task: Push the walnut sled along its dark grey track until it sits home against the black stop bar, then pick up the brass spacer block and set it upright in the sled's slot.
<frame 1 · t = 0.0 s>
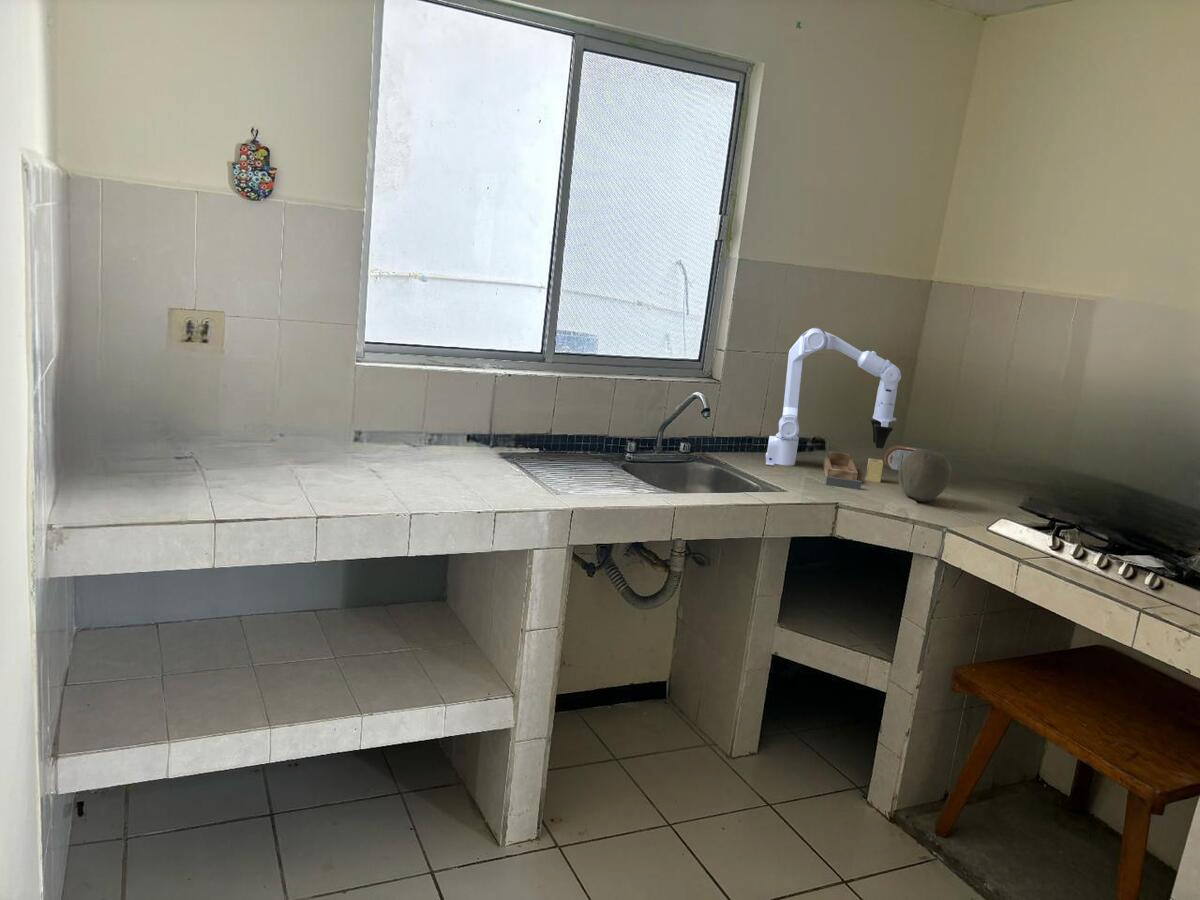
hand: (878, 445, 292), 10 cm above the countertop, tool pointing down, fingers open, 7 cm apart
tin: (906, 473, 306), on the countertop
track: (839, 478, 287), on the countertop
cantaloupe: (919, 500, 271), on the countertop
spacer: (872, 482, 287), on the countertop
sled: (840, 466, 290), point 3 cm above the countertop, slide at 5.0 cm
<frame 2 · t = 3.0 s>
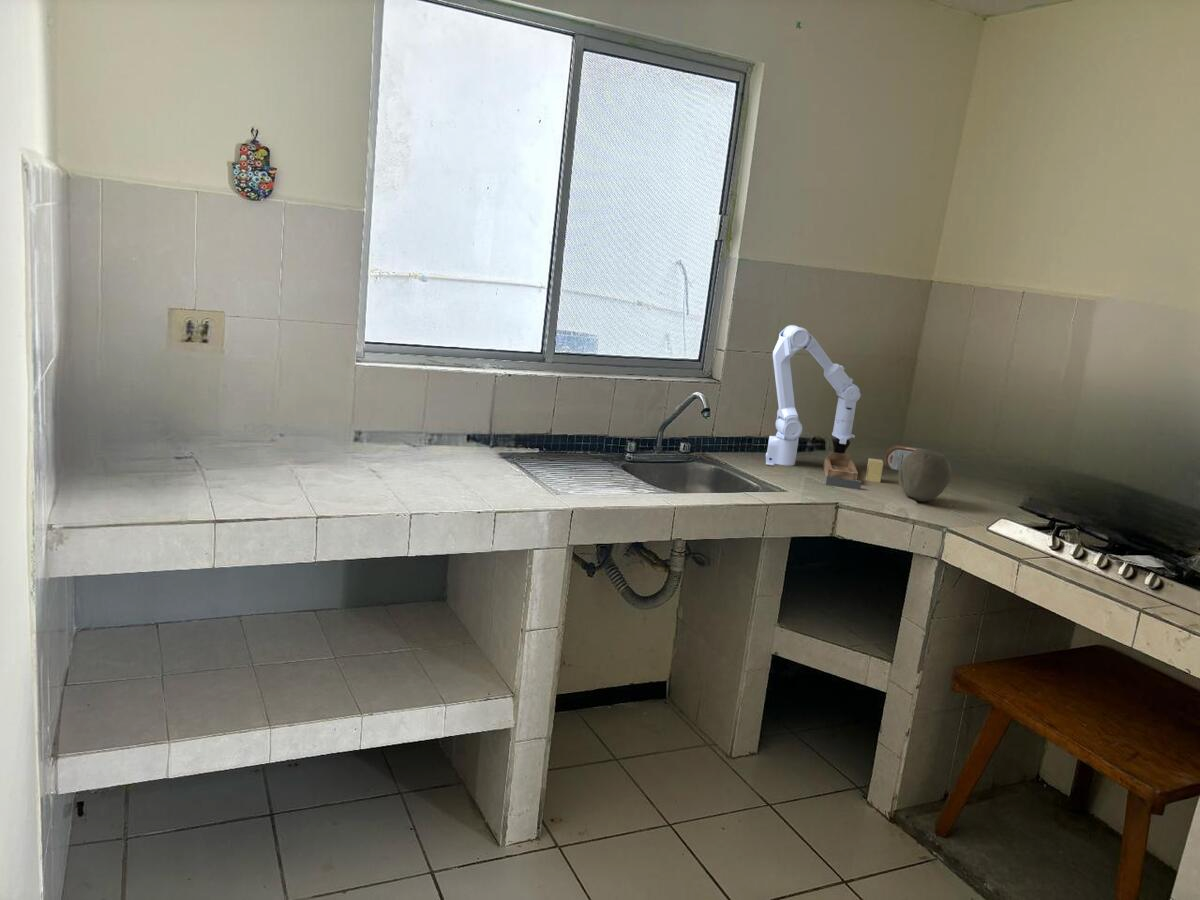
hand: (837, 461, 300), 2 cm above the countertop, tool pointing down, fingers closed
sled: (840, 467, 289), point 3 cm above the countertop, slide at 4.2 cm, touching gripper
everything else where it was.
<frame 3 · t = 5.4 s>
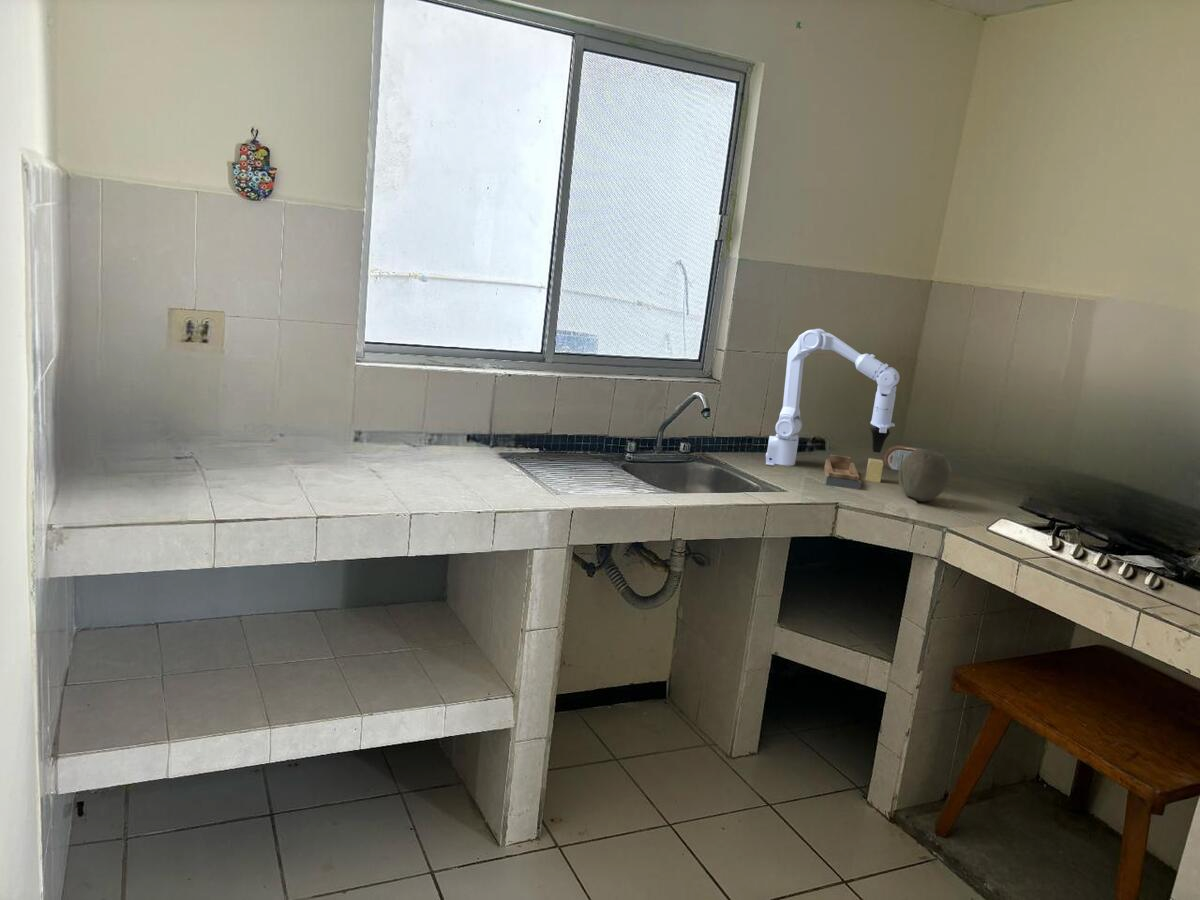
hand: (876, 451, 285), 10 cm above the countertop, tool pointing down, fingers closed
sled: (841, 470, 285), point 3 cm above the countertop, slide at 0.0 cm
everything else where it was.
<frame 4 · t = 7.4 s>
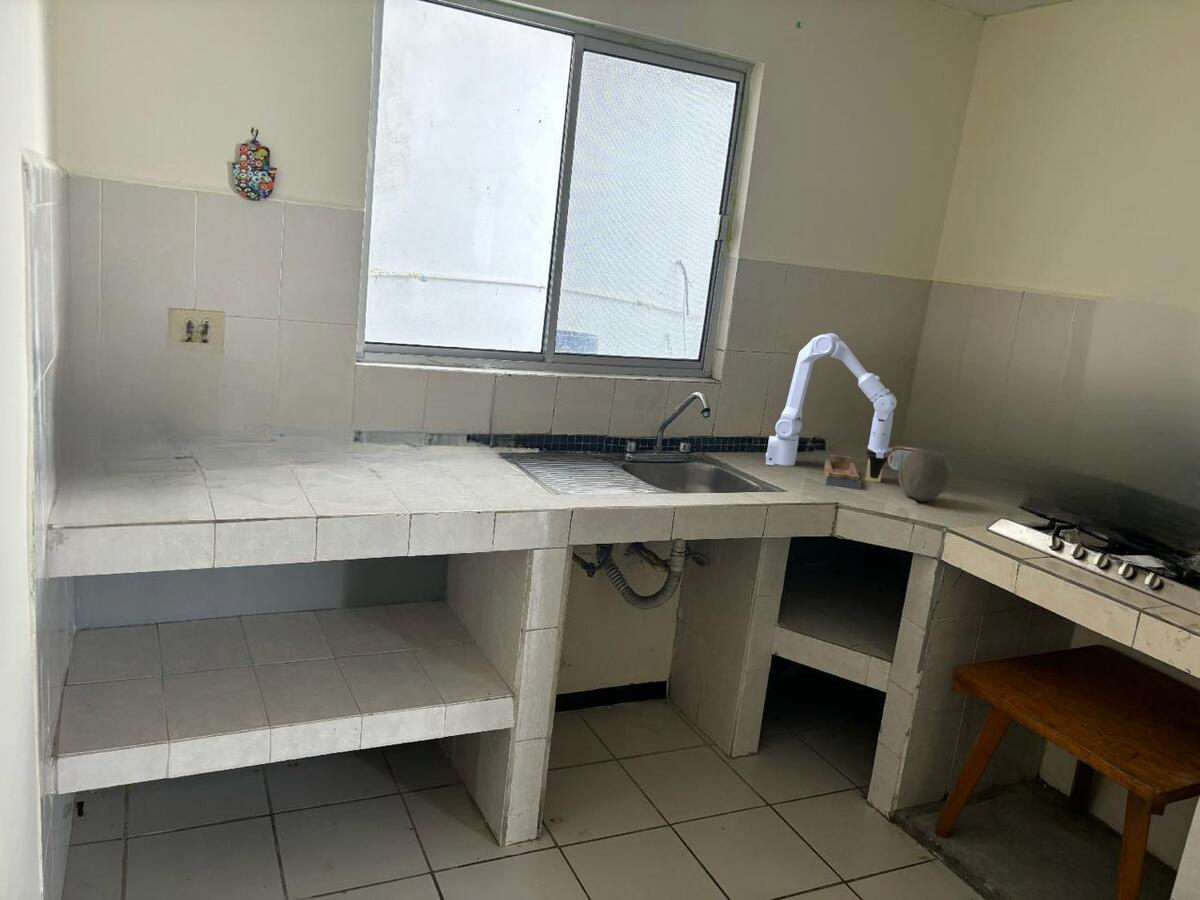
hand: (873, 476, 286), 2 cm above the countertop, tool pointing down, fingers closed on spacer, 4 cm apart
spacer: (872, 482, 287), on the countertop, touching gripper
everything else where it was.
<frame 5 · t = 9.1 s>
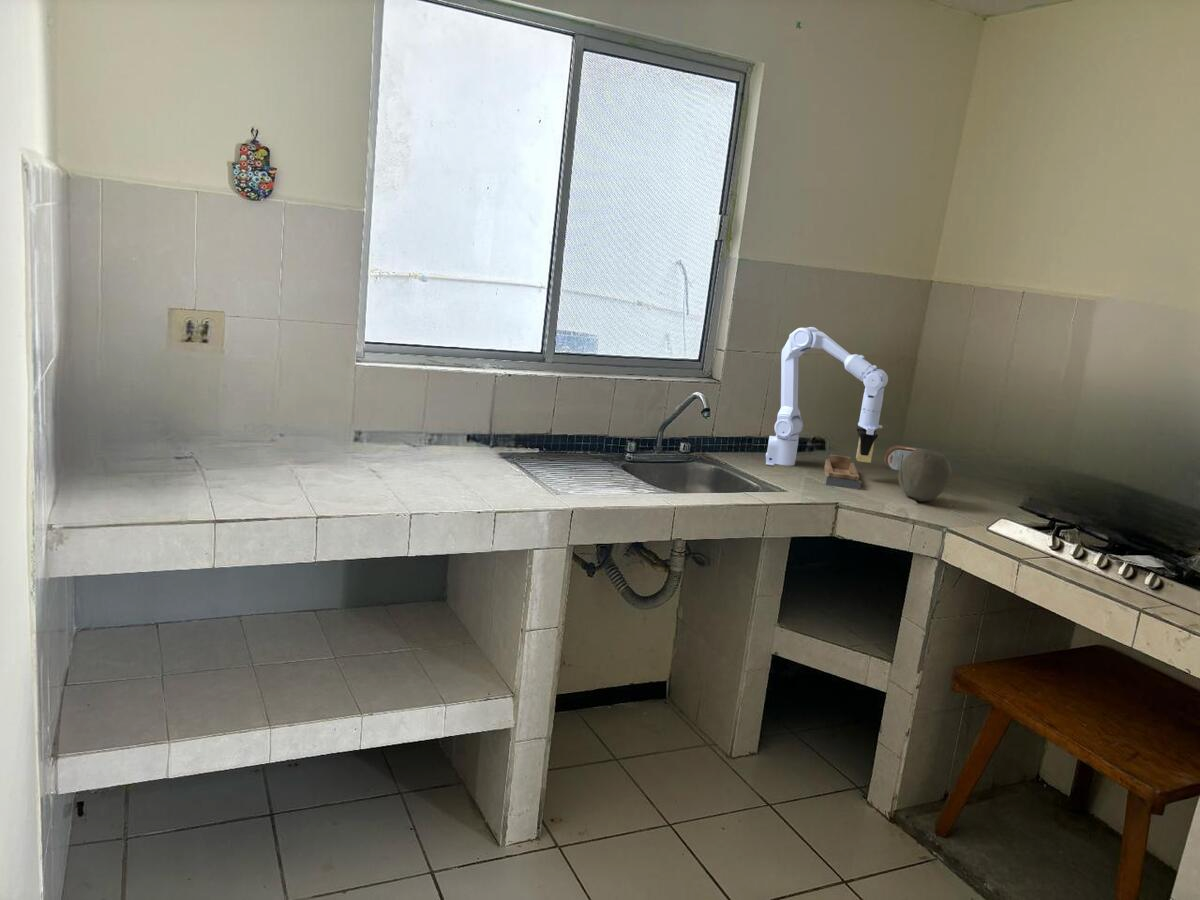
hand: (863, 453, 284), 9 cm above the countertop, tool pointing down, fingers closed on spacer, 4 cm apart
spacer: (863, 460, 285), point 7 cm above the countertop, touching gripper
everything else where it was.
when the fingers open (5 cm above the countertop, at t = 10.7 s): spacer stays where it is, resting on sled.
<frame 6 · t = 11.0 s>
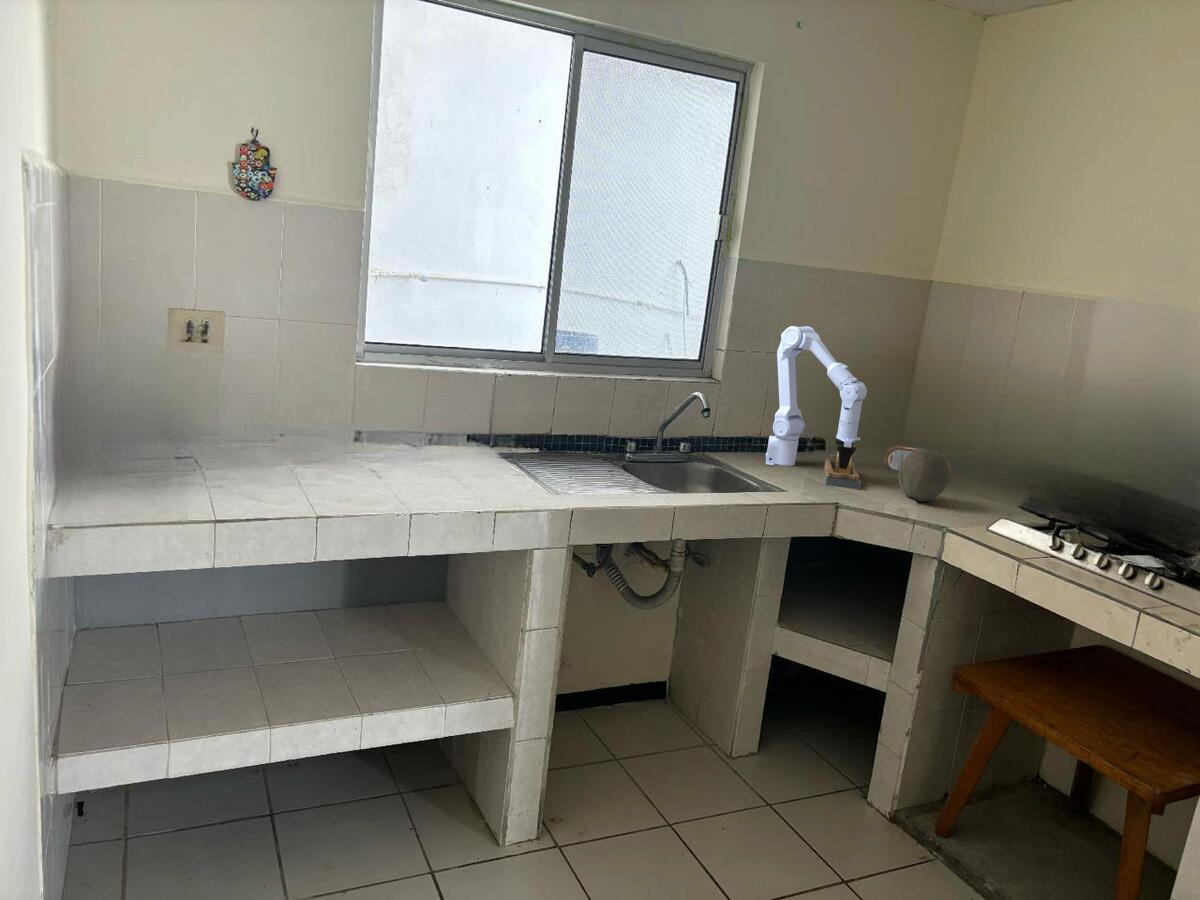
hand: (842, 465, 284), 5 cm above the countertop, tool pointing down, fingers open, 6 cm apart
spacer: (841, 475, 285), point 2 cm above the countertop, touching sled
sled: (841, 470, 285), point 3 cm above the countertop, slide at 0.0 cm, touching spacer
everything else where it was.
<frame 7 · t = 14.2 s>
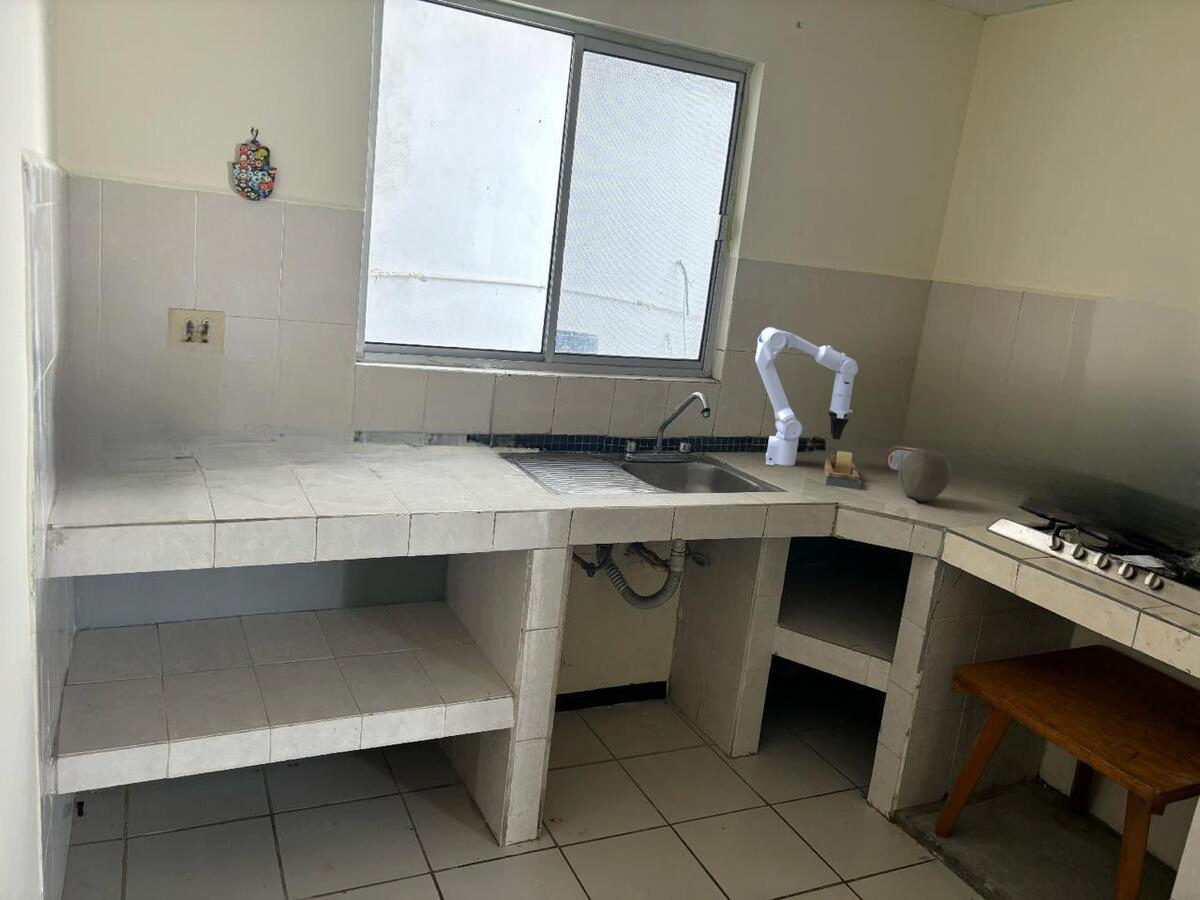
hand: (835, 436, 298), 10 cm above the countertop, tool pointing down, fingers open, 7 cm apart
nothing on the countertop moved.
at the end: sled slide at 0.0 cm; spacer inside the target area (0.3 cm from its centre), point 1.5 cm above the countertop; spacer tilted 0° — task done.
